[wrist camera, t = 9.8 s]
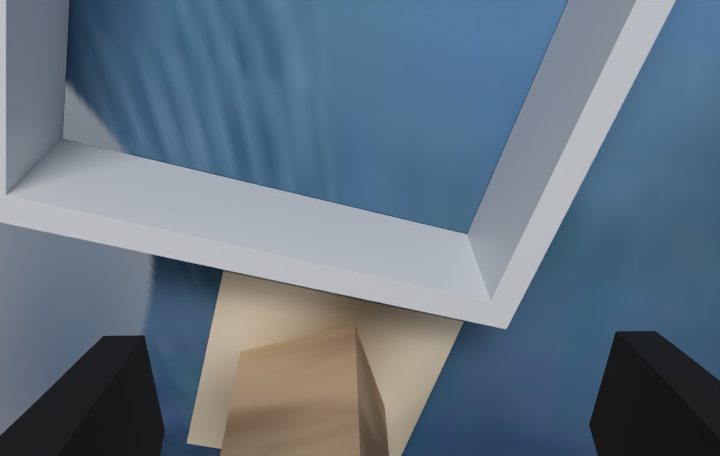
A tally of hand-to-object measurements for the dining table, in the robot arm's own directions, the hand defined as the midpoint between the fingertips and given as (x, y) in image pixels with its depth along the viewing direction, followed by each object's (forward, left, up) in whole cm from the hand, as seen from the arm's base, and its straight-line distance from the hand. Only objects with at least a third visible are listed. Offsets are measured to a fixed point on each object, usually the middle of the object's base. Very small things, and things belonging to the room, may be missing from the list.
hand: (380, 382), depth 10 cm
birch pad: (-1, +9, -10) cm, 13 cm away
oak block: (-1, +9, -9) cm, 12 cm away
